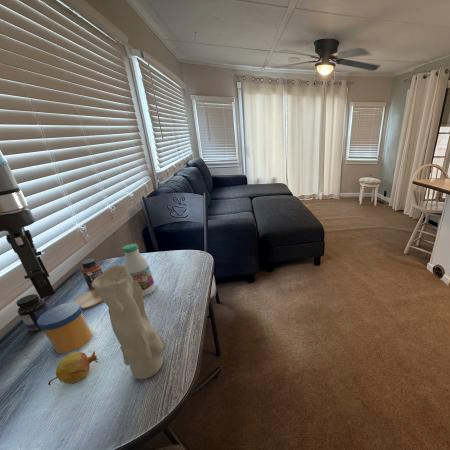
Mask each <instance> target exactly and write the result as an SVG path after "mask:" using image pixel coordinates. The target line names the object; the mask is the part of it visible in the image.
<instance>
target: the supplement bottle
mask: <svg viewBox="0 0 450 450" xmlns="http://www.w3.org/2000/svg"><path fill="white" fill-rule="evenodd" d="M81 265H82V267H81V269H80V270H81V273H82V275H83V278H84V280H85V283H86V285H87V287H88V288H89V289H94V288H93V287H92V282H93V280H94V279H95V278H97V277H98V276H100V275H101V274H103V273H104V271H103V268H102V266H101V264H100V263H98V262H97V261H96V260H95V258H88V259H85V260H83V261H82V262H81Z"/></svg>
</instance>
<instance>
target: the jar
mask: <svg viewBox="0 0 450 450" xmlns="http://www.w3.org/2000/svg"><path fill="white" fill-rule="evenodd" d="M87 322H88V321H87V320H86V318H85V316H84V313H83V312H82V313H81V315H80V316H79V317H78V318H76V319H75V320H74V321H72V322H70V323H69V324H67V325H64V326H62V327H59V328H56V329H53V330H43V332H44V334H45V335H46V337H47V339H48V340H49V343H50V344H51V346H52V348H53V349H54V351H55V352H56V353H57V354H67V353H71V352H73V351H76V350H78V349H79V348H81V347H83V346H84V345H85V344H86V343H88V342H89V340H90V339H91V338H92V336H93V333H92V331H91V328H90V326H89V325H88V323H87Z"/></svg>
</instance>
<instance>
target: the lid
mask: <svg viewBox="0 0 450 450" xmlns="http://www.w3.org/2000/svg"><path fill="white" fill-rule="evenodd" d="M83 311H84V309H82V307H81V306H80V304H79V303H76V302H72V301H70V302H65V303H61V304H59V305H56V306H55V307H52V308H49V310H48V311H47V312H45V313H44V314H42V315H41V316H40V317H39V318H38V320H37V323H38V326H39V328H40V329H42V330H43V331H44V330H53V329H56V328H59V327H62V326H64V325H67V324H69V323H70V322H72V321H74V320H75V319H76V318H78V317H79V316H80V315H81V313H82V314H83ZM42 330H41V331H42Z"/></svg>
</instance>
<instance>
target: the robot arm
mask: <svg viewBox="0 0 450 450" xmlns="http://www.w3.org/2000/svg"><path fill="white" fill-rule="evenodd" d="M28 206H29V204H28V202H27V200H26V198H25V196H24V194H23V192H22V190H21V189H20V186H19V183H18V182H17V180H16V177H15V176H14V174H13V171H12V169H11V167H10V165H9V162H8V159H7V158H6V157H5V156H4V154H3V152H2V150H1V149H0V233H2V232H7V233H8V234H5V239H6V242H7V243H8V244H9V245H10V246H11V248H12V250H13V252H14V253H15V254H16V255H17V257H18V259H19V261H20V263H21V265H22V267H23V269H24V271H25V273H26V275H24V276H23V278H24V279H25V280H28V279H29V281H30V282H31V283H32V285H33V287H34V289H35V291H36V294H37V295H38V297H39V299H41V300H44V299H46V298H47V297H50V296H52V295H55V294H56V291H55V289H54V287H53V285H52V283H51V281H50V280H49V278H50V274H49V272H48V270H47V268H46V266H45V264H44V262H43V260H42V258H41V257H40V256H42V255H43V253H42V251H41V250H39V251H37V248H36V246H35V244H34V240H33V237H32V234H31V231H30V229H25V227H29V226H31V225H33V224H34V223H35V222H36V219H35V217H34V215H33V213H32V211H31V209H30V208H28Z"/></svg>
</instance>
